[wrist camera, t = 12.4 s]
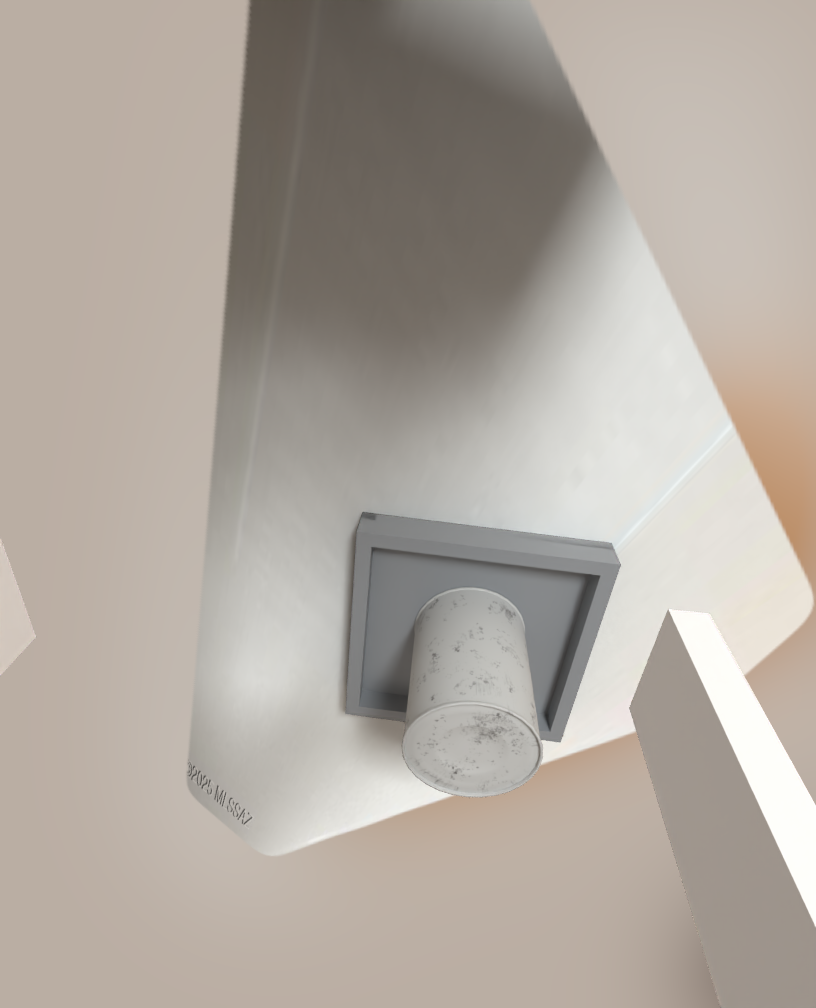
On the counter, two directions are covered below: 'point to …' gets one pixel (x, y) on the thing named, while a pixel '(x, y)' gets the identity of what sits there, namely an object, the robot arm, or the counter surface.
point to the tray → (482, 564)
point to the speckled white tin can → (471, 696)
